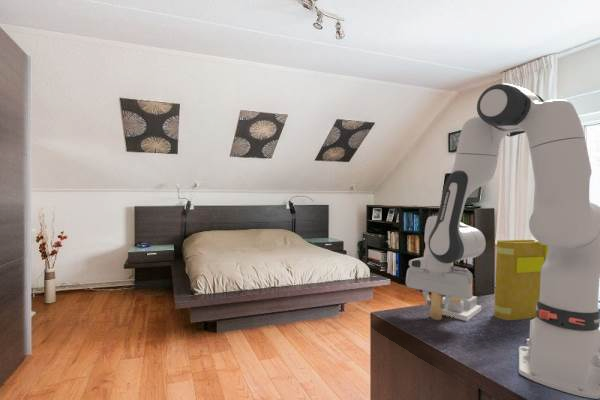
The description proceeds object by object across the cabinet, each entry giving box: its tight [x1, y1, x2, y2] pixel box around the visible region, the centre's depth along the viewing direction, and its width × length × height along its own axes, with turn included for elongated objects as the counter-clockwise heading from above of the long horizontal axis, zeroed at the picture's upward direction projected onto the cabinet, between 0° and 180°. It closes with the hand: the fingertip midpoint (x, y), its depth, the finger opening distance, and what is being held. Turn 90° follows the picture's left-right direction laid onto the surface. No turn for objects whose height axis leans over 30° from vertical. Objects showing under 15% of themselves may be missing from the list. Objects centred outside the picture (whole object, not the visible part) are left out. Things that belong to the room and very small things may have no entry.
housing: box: [442, 295, 482, 322], centre depth 119 cm, size 15×10×10 cm, turn 137°
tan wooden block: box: [429, 292, 444, 321], centre depth 112 cm, size 4×4×9 cm
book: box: [493, 238, 549, 321], centre depth 117 cm, size 17×7×25 cm, turn 108°
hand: (436, 306), depth 112 cm, fingers closed on tan wooden block, 4 cm apart
